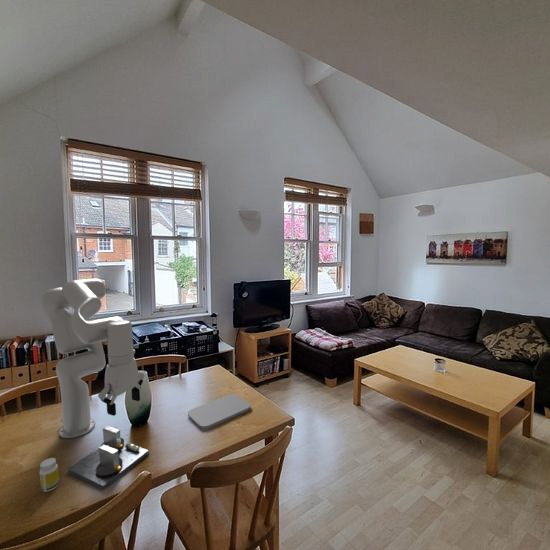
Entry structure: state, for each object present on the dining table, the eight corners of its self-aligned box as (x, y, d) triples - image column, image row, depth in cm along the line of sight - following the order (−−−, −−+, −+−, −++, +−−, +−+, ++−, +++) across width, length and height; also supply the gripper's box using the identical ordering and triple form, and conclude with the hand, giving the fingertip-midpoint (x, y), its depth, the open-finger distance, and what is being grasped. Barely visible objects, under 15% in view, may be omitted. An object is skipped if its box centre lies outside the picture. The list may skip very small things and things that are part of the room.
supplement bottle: (62, 480, 100) (60, 456, 99) (52, 492, 95) (50, 467, 94) (47, 480, 100) (45, 457, 99) (37, 492, 95) (34, 467, 94)
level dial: (90, 472, 101) (89, 453, 100) (112, 456, 108) (110, 438, 108) (108, 480, 97) (107, 460, 97) (129, 464, 105) (128, 445, 104)
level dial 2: (95, 449, 112) (94, 432, 111) (114, 437, 119) (113, 420, 119) (111, 456, 108) (110, 438, 108) (130, 443, 116) (129, 426, 115)
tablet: (185, 416, 137) (185, 411, 137) (233, 397, 154) (233, 392, 154) (202, 433, 125) (202, 428, 125) (253, 410, 142) (253, 405, 142)
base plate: (67, 472, 103) (66, 463, 103) (114, 441, 119) (114, 433, 119) (103, 490, 96) (102, 480, 95) (148, 454, 112) (148, 445, 112)
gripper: (134, 348, 110) (136, 393, 112) (88, 366, 94) (92, 418, 96) (149, 351, 107) (152, 397, 109) (105, 369, 91) (109, 423, 93)
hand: (124, 407), depth 103 cm, fingers open, 9 cm apart
